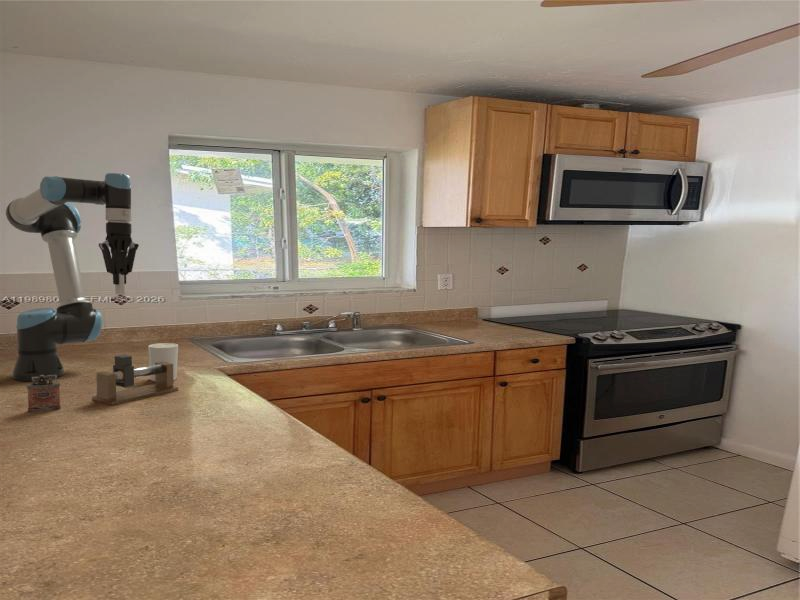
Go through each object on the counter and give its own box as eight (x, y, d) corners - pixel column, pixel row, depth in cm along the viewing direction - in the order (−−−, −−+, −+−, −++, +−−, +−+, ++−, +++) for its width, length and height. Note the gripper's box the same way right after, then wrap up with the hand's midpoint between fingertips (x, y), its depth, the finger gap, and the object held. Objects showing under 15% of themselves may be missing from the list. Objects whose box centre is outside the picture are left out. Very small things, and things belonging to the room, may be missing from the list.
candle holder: (168, 383, 206) (168, 348, 205) (142, 381, 208) (142, 346, 207) (184, 377, 215) (183, 343, 214) (159, 375, 217) (158, 342, 216)
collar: (113, 384, 186) (112, 355, 185) (122, 382, 188) (121, 354, 187) (125, 387, 183) (124, 358, 182) (134, 385, 185) (133, 356, 184)
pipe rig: (92, 400, 183) (91, 371, 182) (158, 385, 202) (158, 360, 201) (111, 405, 177) (111, 376, 176) (178, 390, 197) (177, 364, 196)
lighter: (27, 413, 168) (26, 377, 167) (28, 410, 171) (27, 375, 170) (60, 410, 171) (59, 375, 170) (60, 407, 174) (60, 372, 173)
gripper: (106, 221, 189) (107, 296, 191) (143, 222, 200) (144, 294, 202) (92, 221, 193) (94, 294, 195) (130, 222, 204) (131, 292, 206)
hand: (119, 294), depth 198 cm, fingers closed
